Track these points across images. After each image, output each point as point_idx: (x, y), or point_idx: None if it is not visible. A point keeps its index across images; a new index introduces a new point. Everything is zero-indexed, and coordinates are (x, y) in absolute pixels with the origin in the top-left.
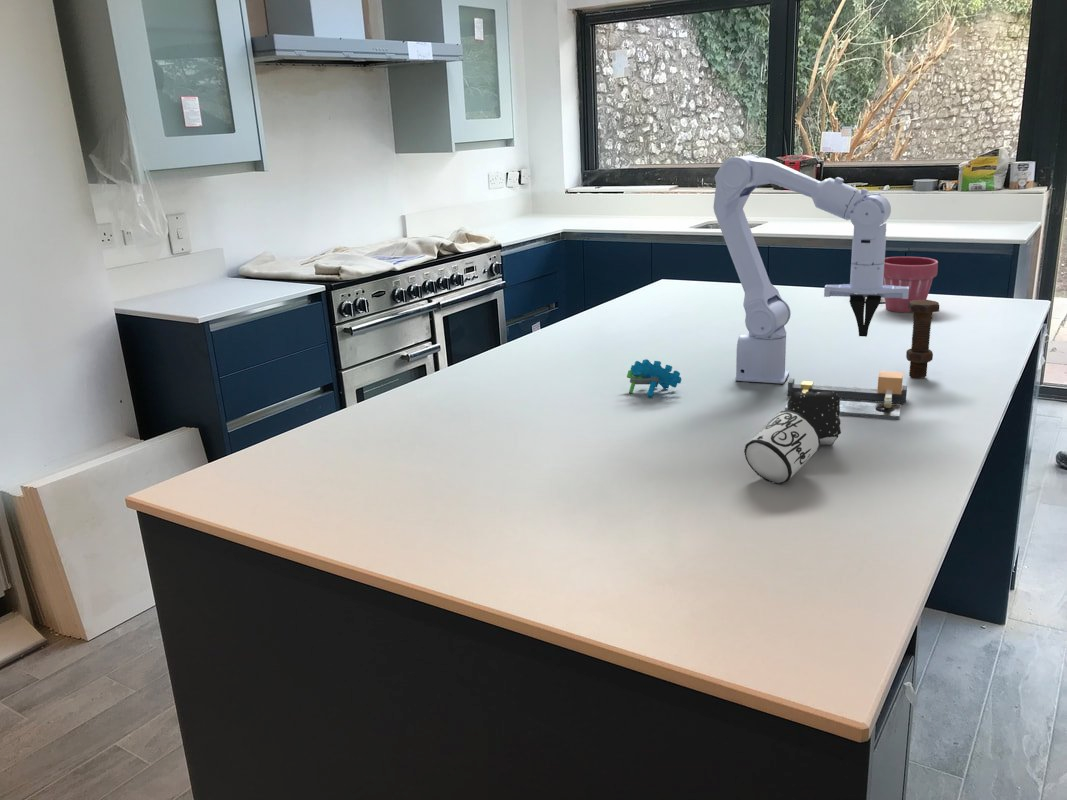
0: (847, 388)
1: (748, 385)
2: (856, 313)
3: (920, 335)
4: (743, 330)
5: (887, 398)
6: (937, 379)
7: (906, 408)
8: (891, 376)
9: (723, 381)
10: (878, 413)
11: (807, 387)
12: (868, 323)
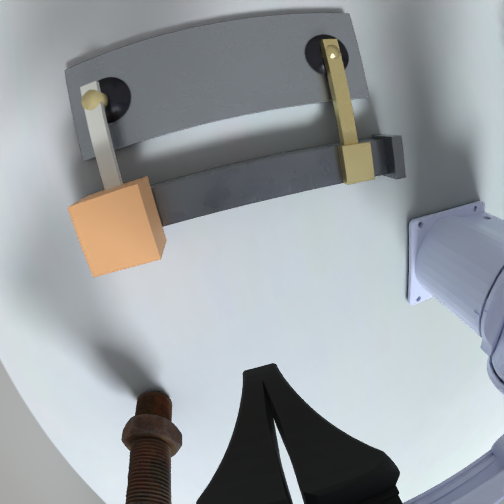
0: (246, 194)
1: (460, 184)
2: (323, 431)
3: (141, 472)
4: (454, 435)
5: (92, 100)
6: (118, 401)
7: (75, 168)
8: (103, 212)
9: (493, 193)
10: (113, 59)
11: (349, 144)
12: (243, 411)
